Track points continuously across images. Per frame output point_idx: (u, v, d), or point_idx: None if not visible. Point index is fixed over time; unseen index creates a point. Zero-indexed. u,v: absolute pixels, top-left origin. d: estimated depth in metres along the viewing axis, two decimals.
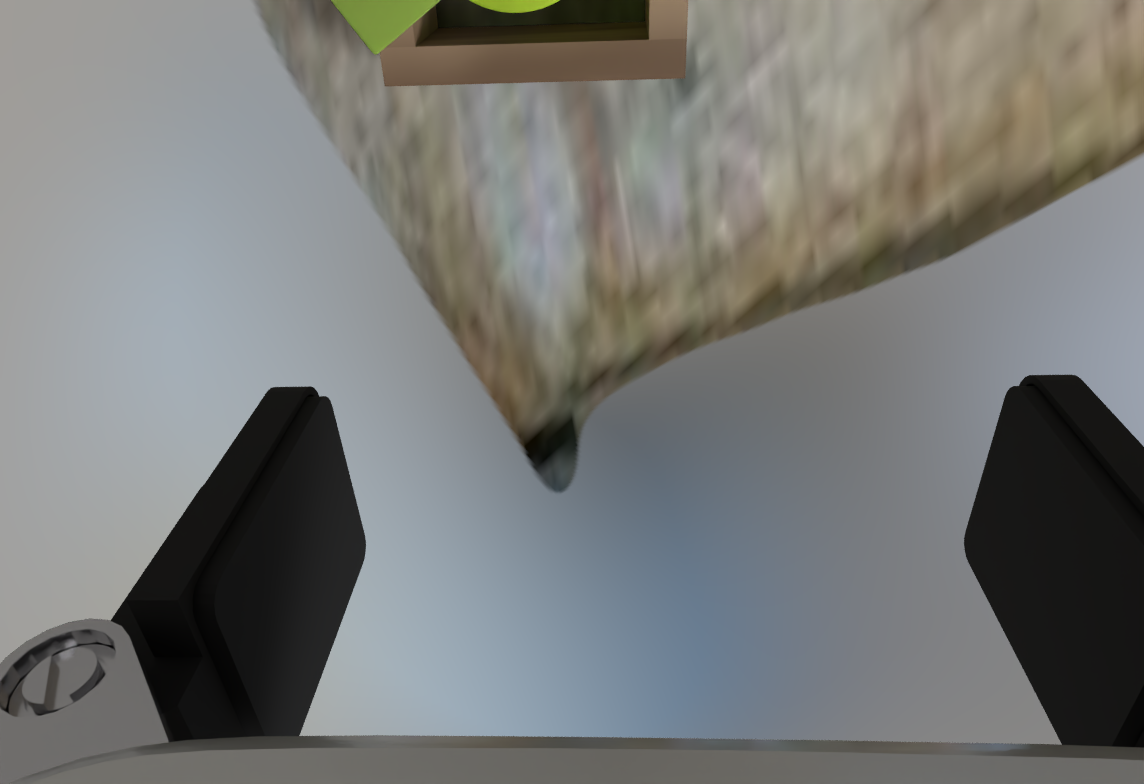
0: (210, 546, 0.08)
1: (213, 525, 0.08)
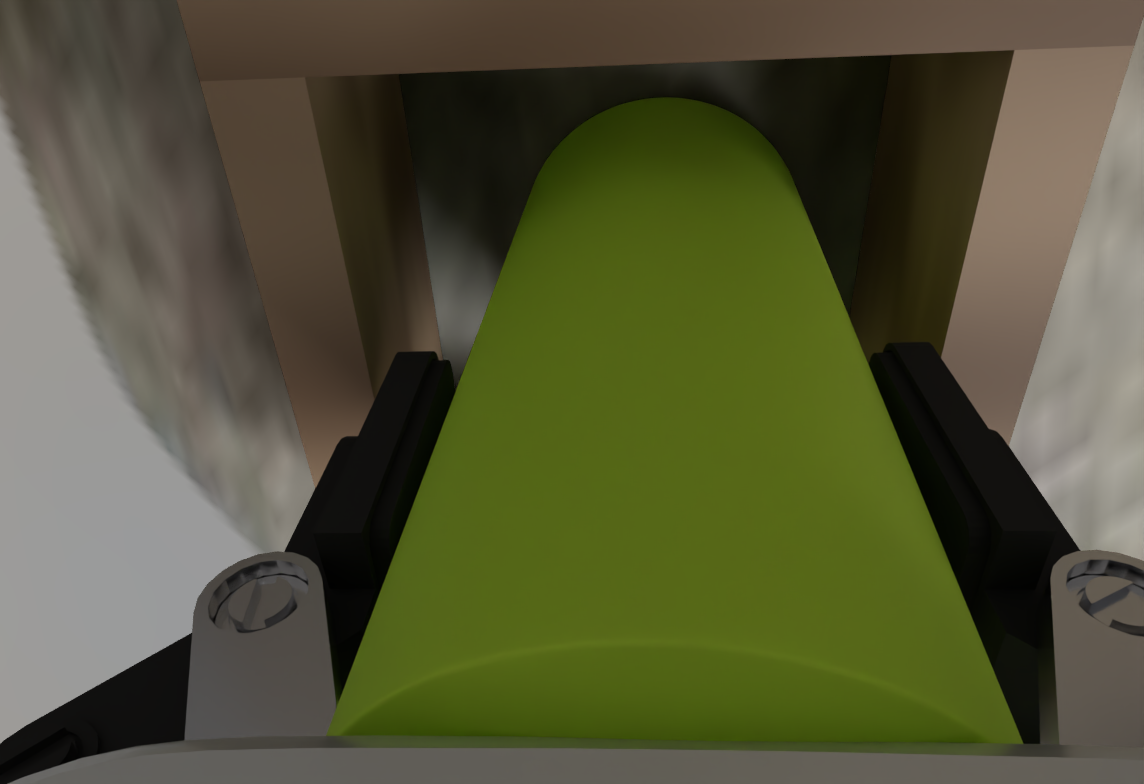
0: (378, 488, 0.09)
1: (376, 470, 0.09)
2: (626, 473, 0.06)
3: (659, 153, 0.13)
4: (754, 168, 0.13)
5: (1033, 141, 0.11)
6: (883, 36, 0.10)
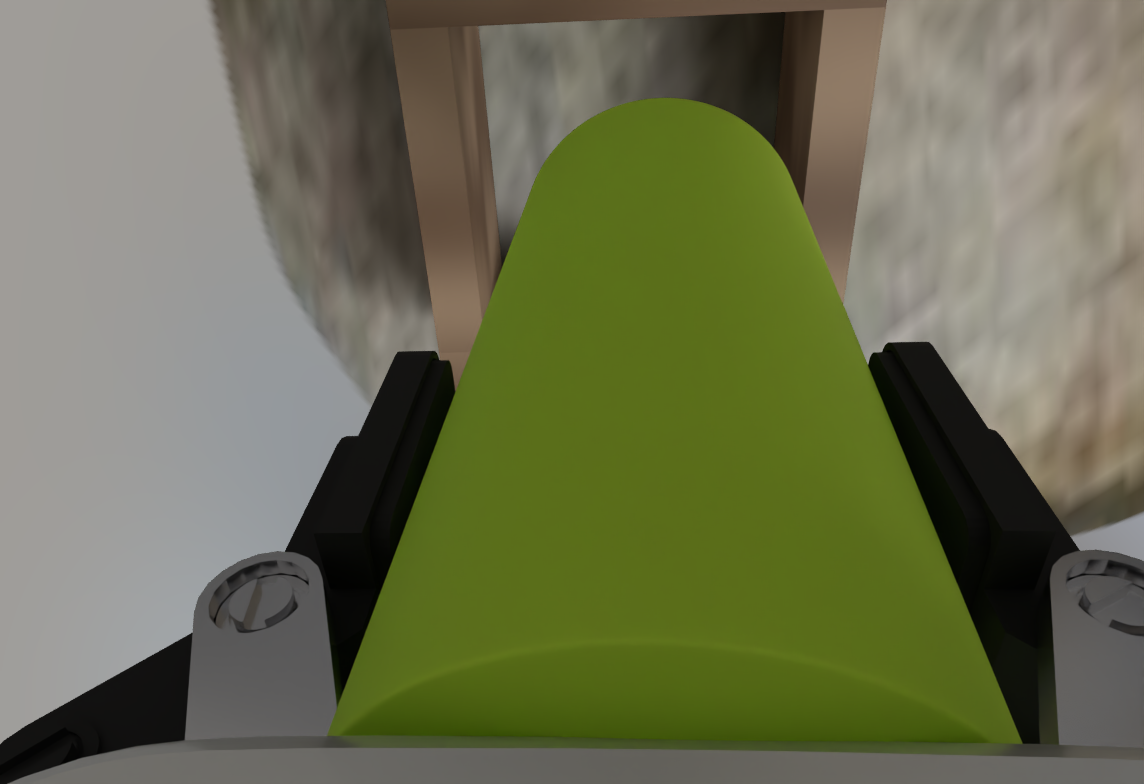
0: (379, 488, 0.09)
1: (376, 470, 0.09)
2: (625, 472, 0.06)
3: (659, 154, 0.13)
4: (753, 168, 0.13)
5: (840, 60, 0.20)
6: (755, 2, 0.20)
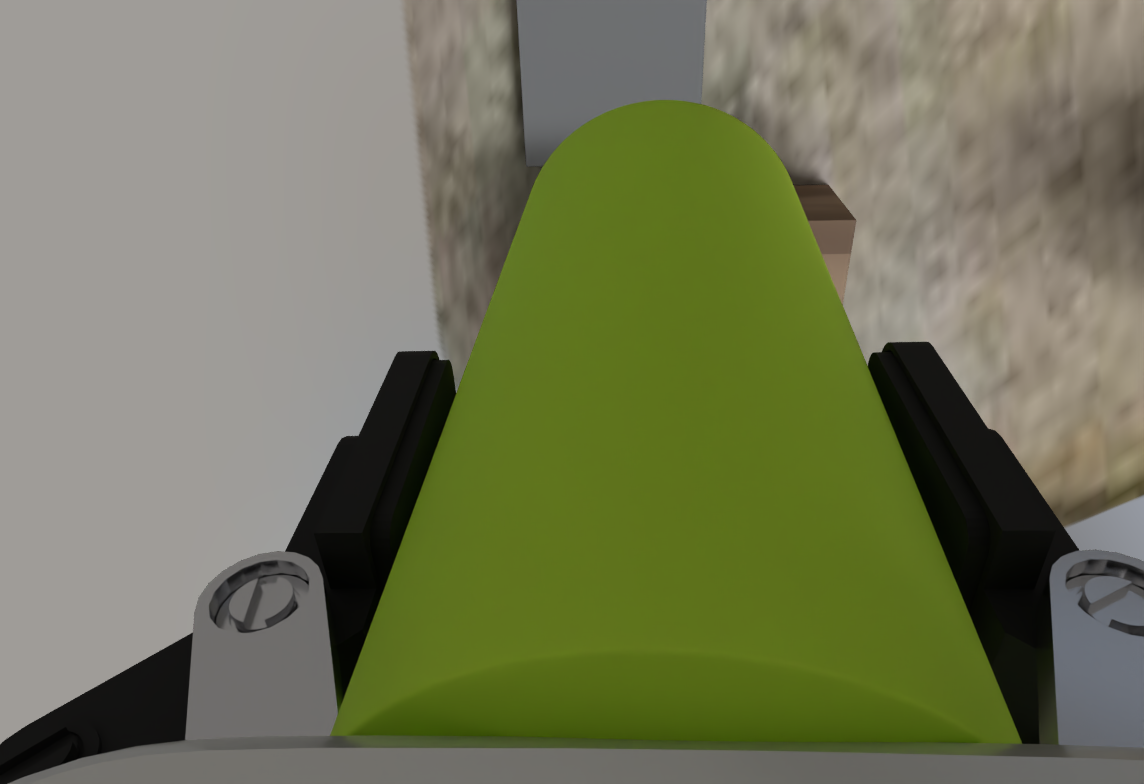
0: (379, 487, 0.09)
1: (377, 469, 0.09)
2: (626, 479, 0.06)
3: (659, 157, 0.13)
4: (753, 171, 0.13)
5: None
6: None
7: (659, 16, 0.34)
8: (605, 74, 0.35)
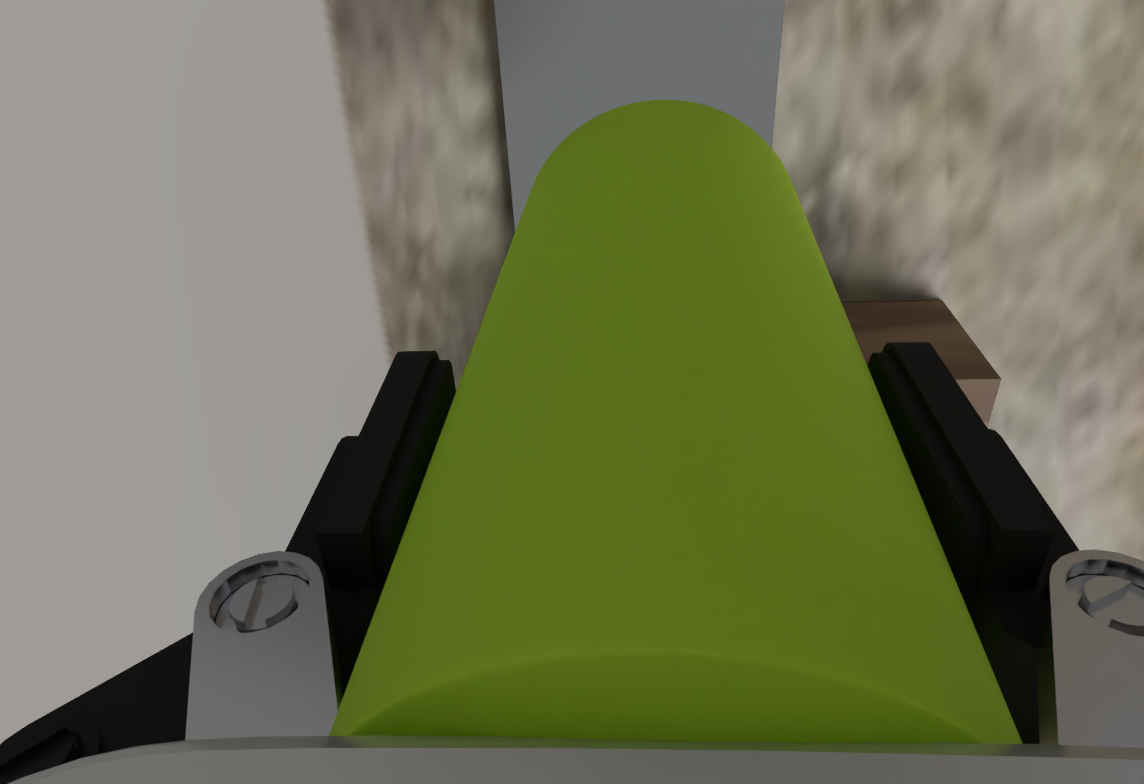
0: (380, 487, 0.09)
1: (377, 469, 0.09)
2: (626, 479, 0.06)
3: (658, 156, 0.13)
4: (753, 171, 0.13)
5: None
6: None
7: (709, 80, 0.23)
8: None
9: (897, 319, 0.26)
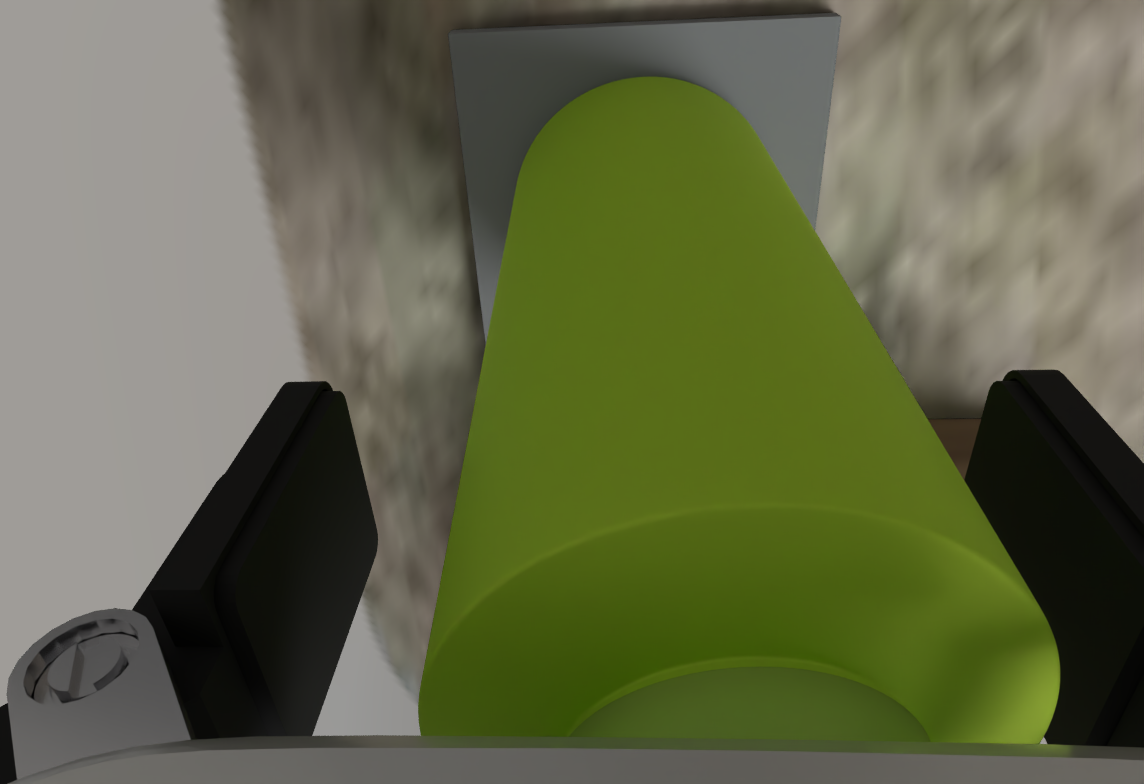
0: (230, 537, 0.08)
1: (233, 517, 0.08)
2: (687, 385, 0.07)
3: (653, 126, 0.14)
4: (738, 138, 0.14)
5: None
6: None
7: None
8: None
9: (969, 448, 0.21)
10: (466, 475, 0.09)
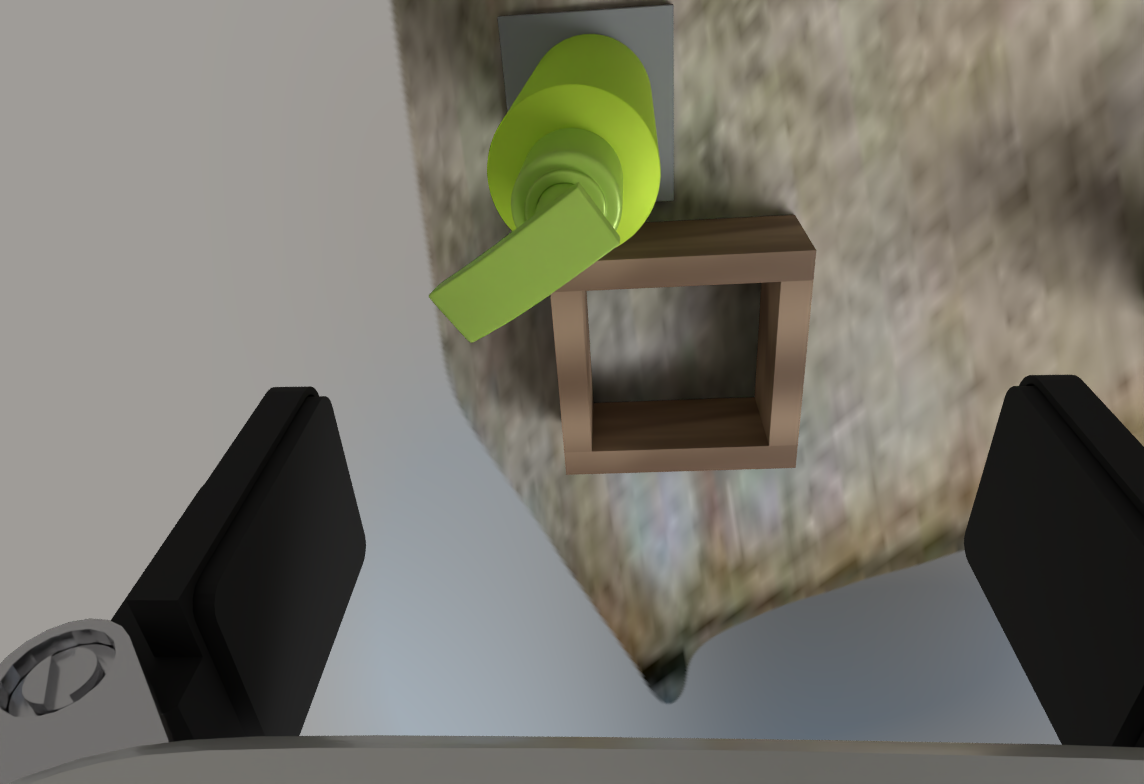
0: (211, 546, 0.08)
1: (214, 525, 0.08)
2: (561, 76, 0.27)
3: (581, 44, 0.34)
4: (618, 51, 0.34)
5: (791, 304, 0.38)
6: (744, 278, 0.38)
7: None
8: None
9: (762, 225, 0.40)
10: None
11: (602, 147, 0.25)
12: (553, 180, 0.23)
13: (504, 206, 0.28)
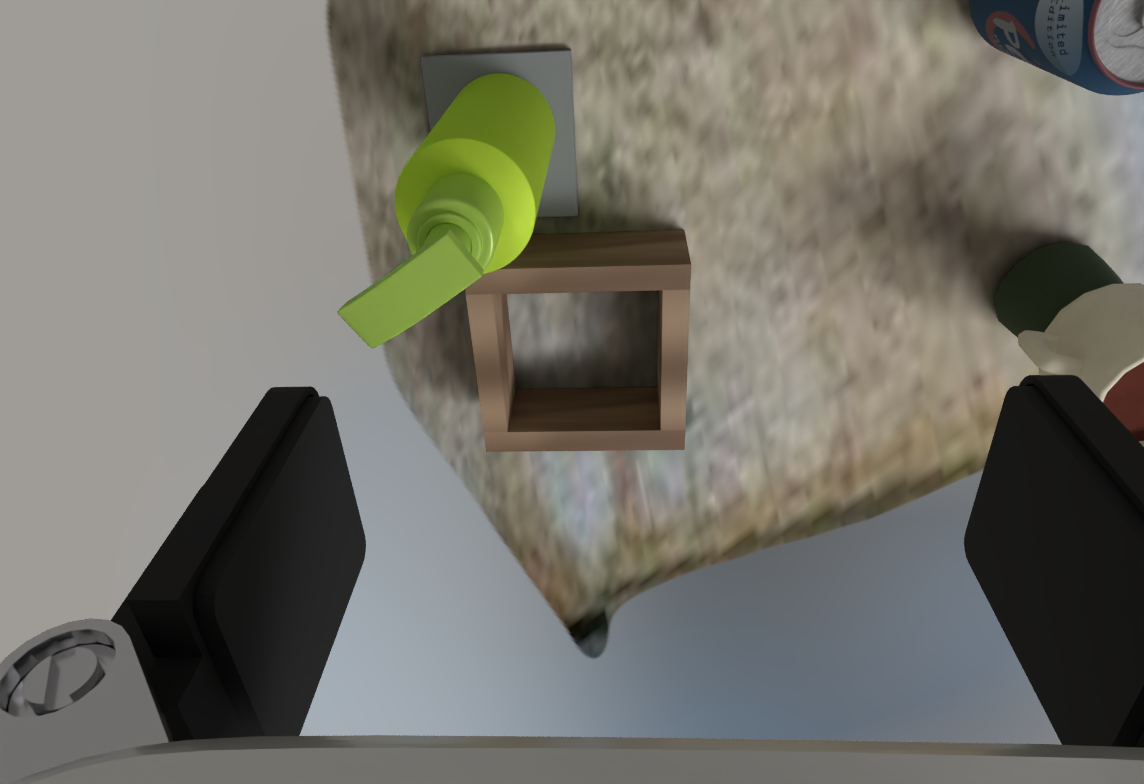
0: (211, 546, 0.08)
1: (213, 525, 0.08)
2: (455, 128, 0.33)
3: (487, 87, 0.40)
4: (520, 93, 0.40)
5: (672, 309, 0.45)
6: (631, 287, 0.44)
7: None
8: None
9: (653, 239, 0.46)
10: None
11: (482, 191, 0.31)
12: (437, 221, 0.29)
13: None
